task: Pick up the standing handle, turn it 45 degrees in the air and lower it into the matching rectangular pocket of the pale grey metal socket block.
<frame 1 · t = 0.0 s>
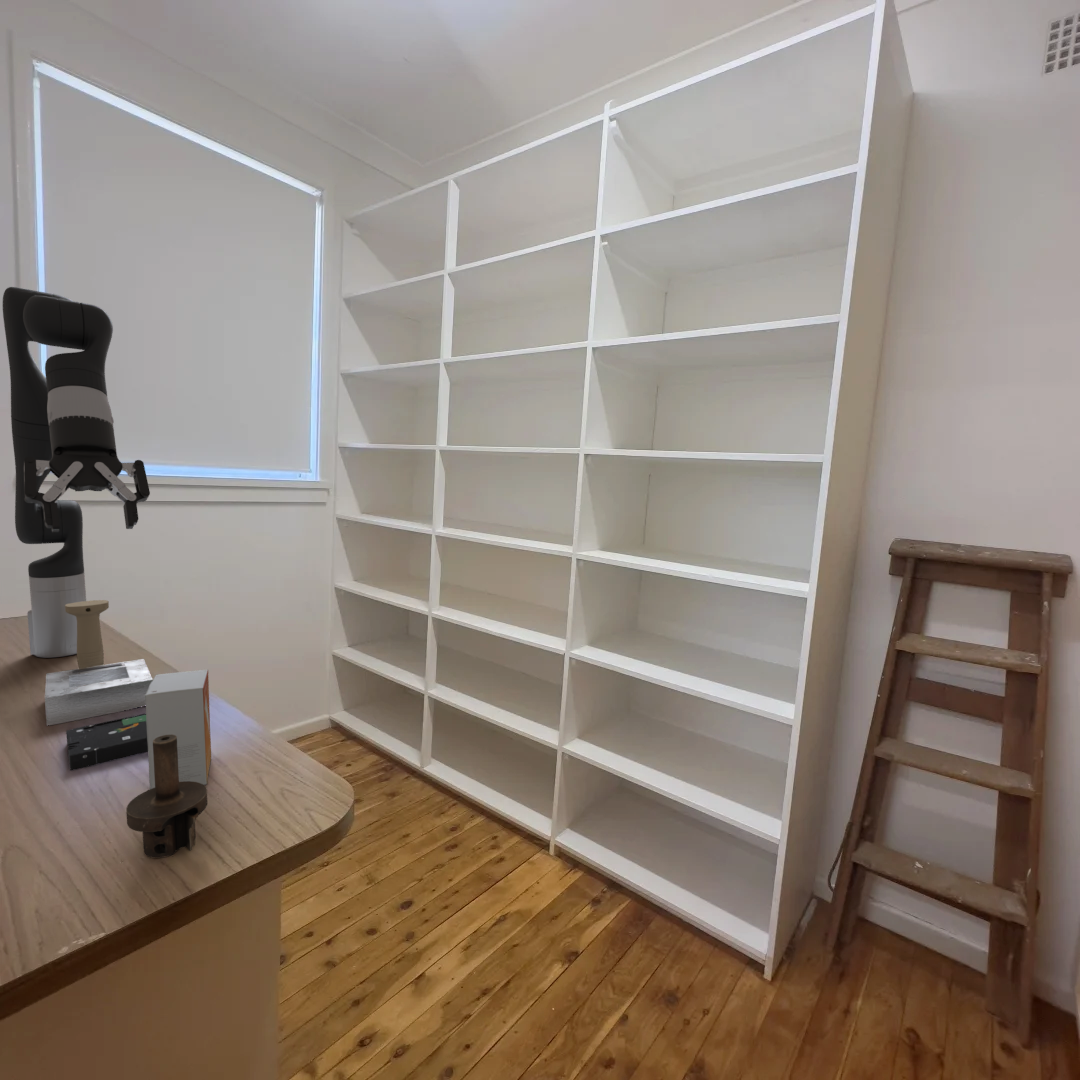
hand: (94, 529, 83), 31 cm above the table, tool tilted 20°, fingers open, 8 cm apart
handle: (92, 681, 109), on the table
disk drive: (132, 746, 85), on the table
industrial component: (167, 843, 62), on the table
small box: (183, 777, 76), on the table
socket block: (100, 701, 99), on the table
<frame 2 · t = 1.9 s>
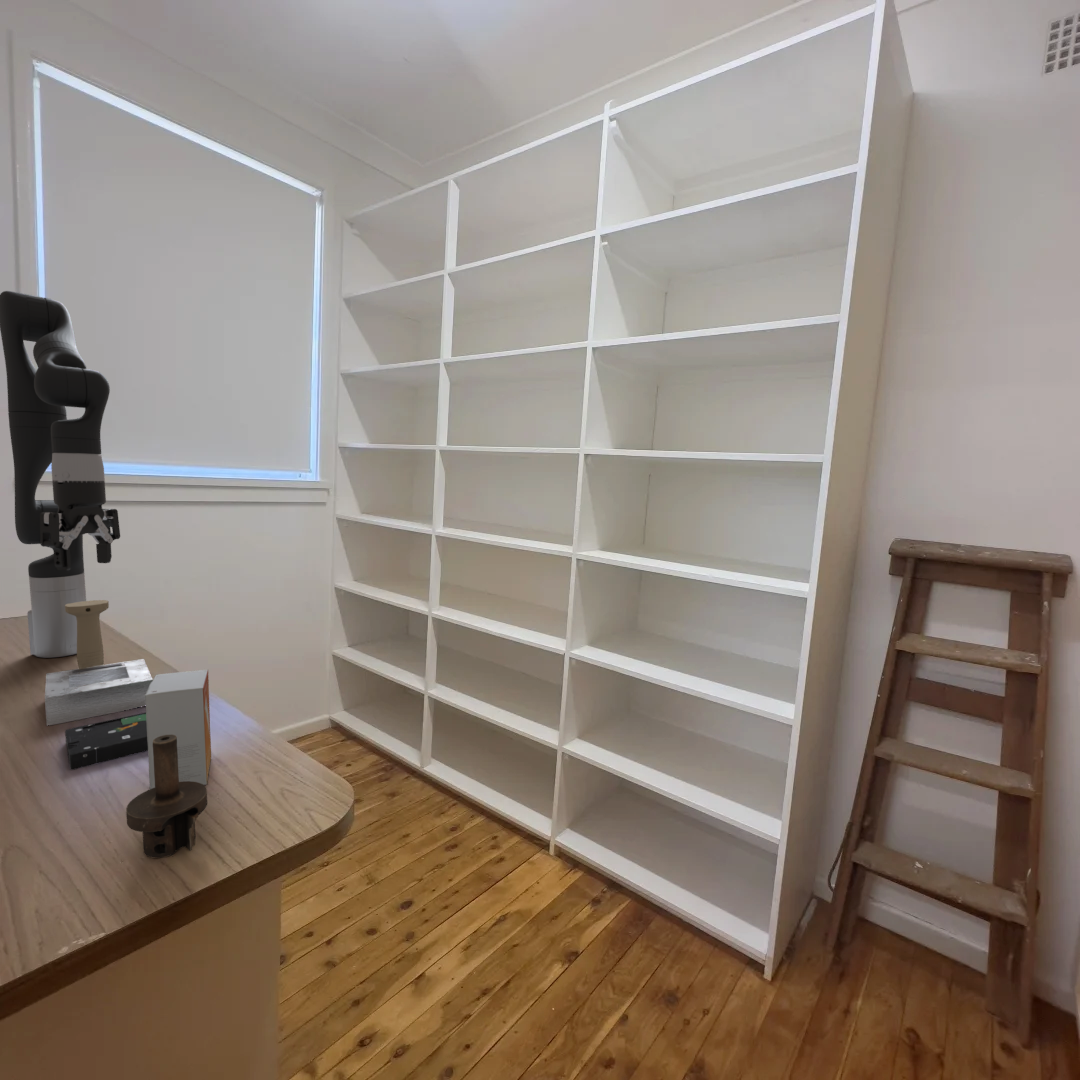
hand: (84, 566, 107), 22 cm above the table, tool pointing down, fingers open, 8 cm apart
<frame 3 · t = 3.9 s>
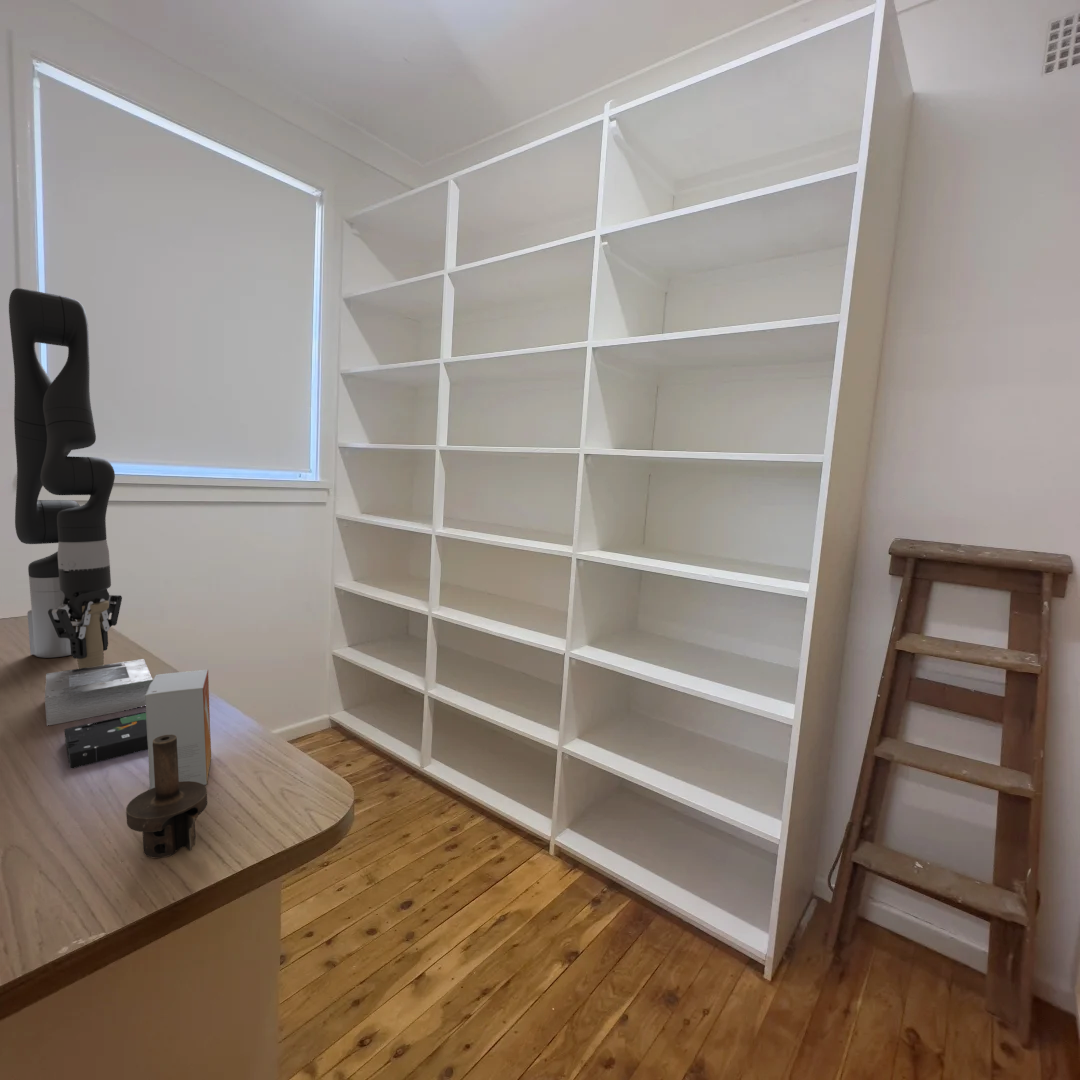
hand: (90, 653, 109), 5 cm above the table, tool pointing down, fingers closed on handle, 4 cm apart
handle: (92, 681, 109), on the table, touching gripper
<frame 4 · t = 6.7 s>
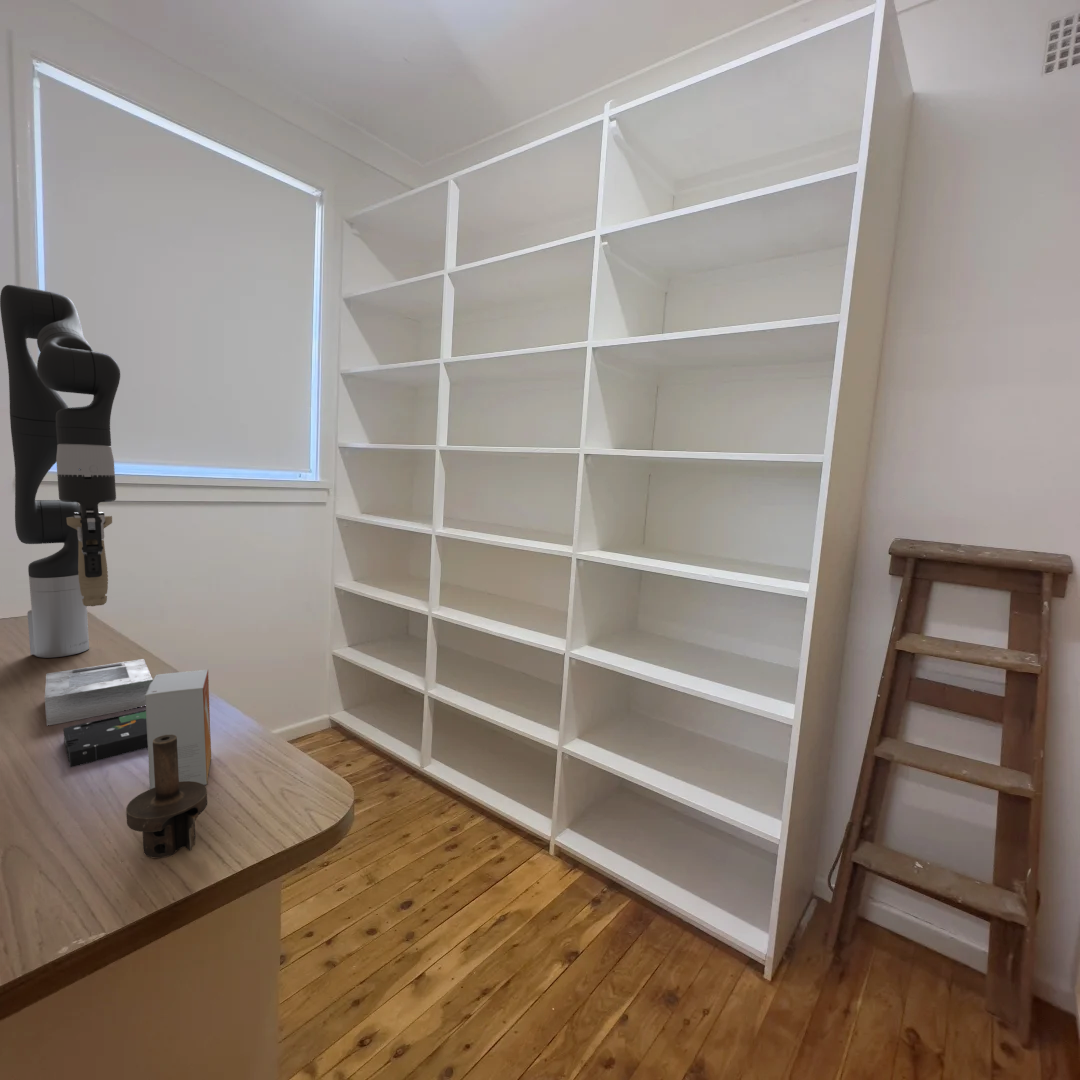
hand: (93, 574, 97), 22 cm above the table, tool pointing down, fingers closed on handle, 4 cm apart
handle: (95, 606, 98), point 17 cm above the table, touching gripper
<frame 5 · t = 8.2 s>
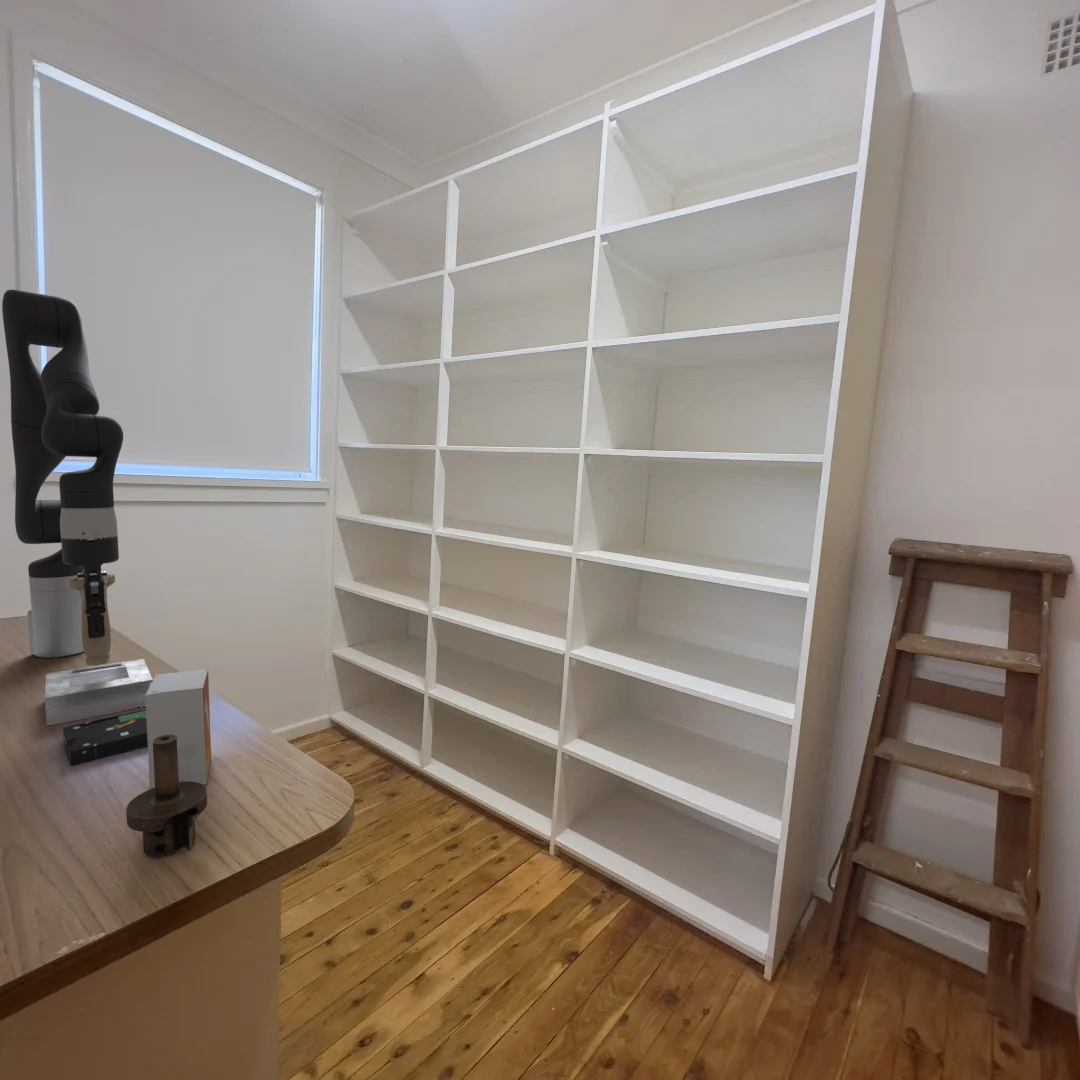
hand: (96, 633, 98), 12 cm above the table, tool pointing down, fingers closed on handle, 4 cm apart
handle: (98, 664, 99), point 7 cm above the table, touching gripper
when the fingers open (7 cm above the table, at t = 9.5 s): handle stays where it is, resting on socket block.
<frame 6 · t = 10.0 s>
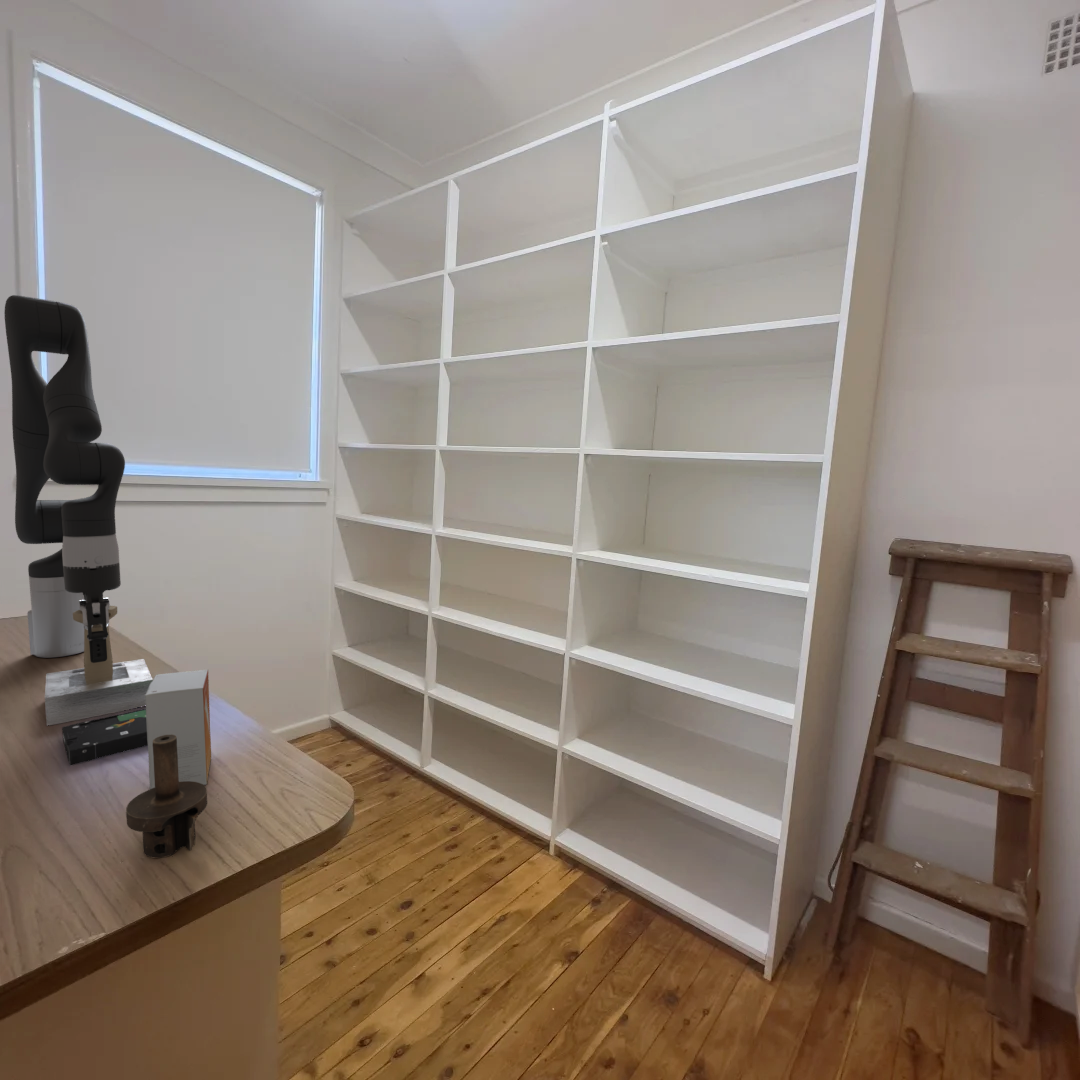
hand: (97, 655, 98), 8 cm above the table, tool pointing down, fingers open, 8 cm apart
handle: (100, 695, 99), point 1 cm above the table, touching socket block
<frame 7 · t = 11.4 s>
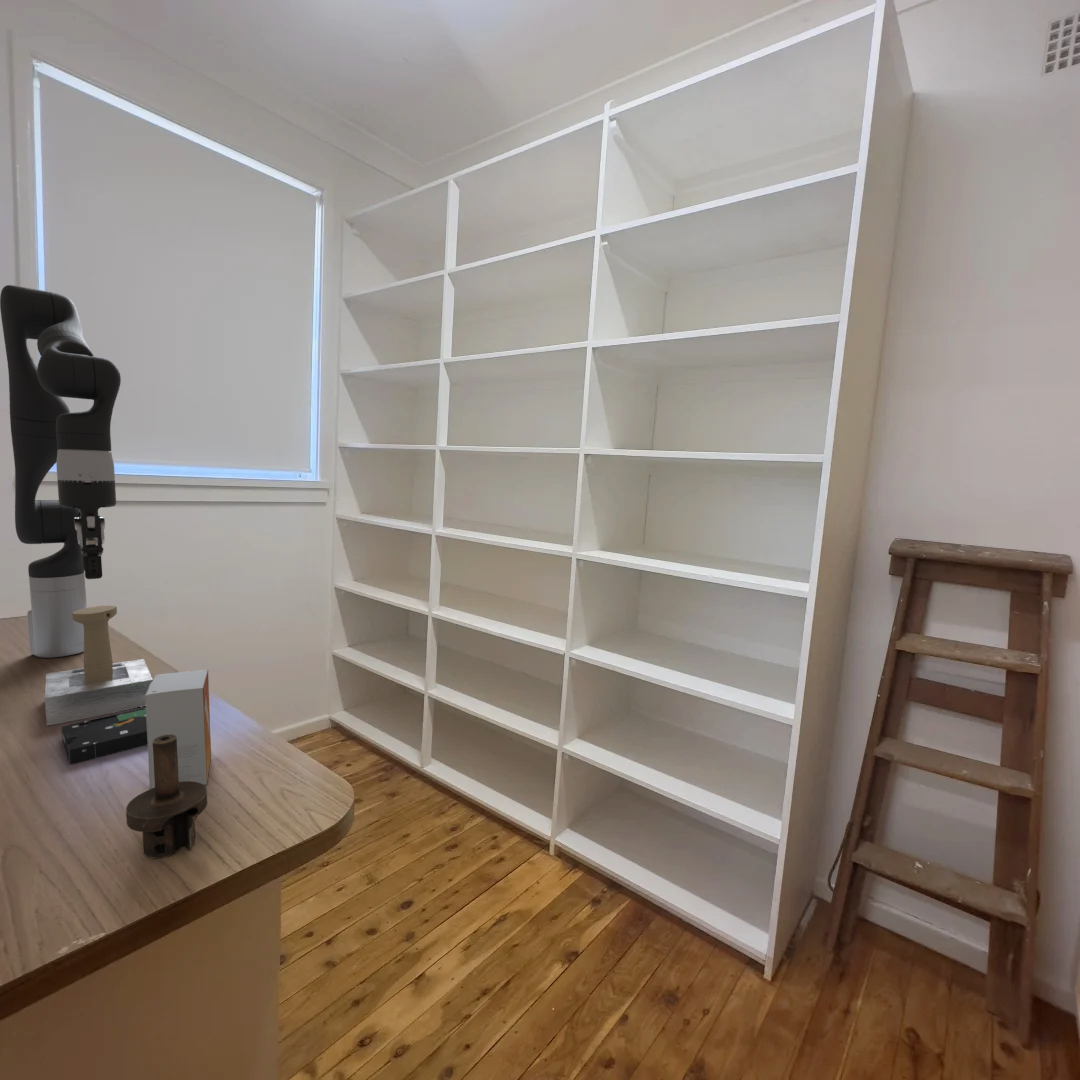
hand: (92, 574, 97), 22 cm above the table, tool pointing down, fingers open, 8 cm apart
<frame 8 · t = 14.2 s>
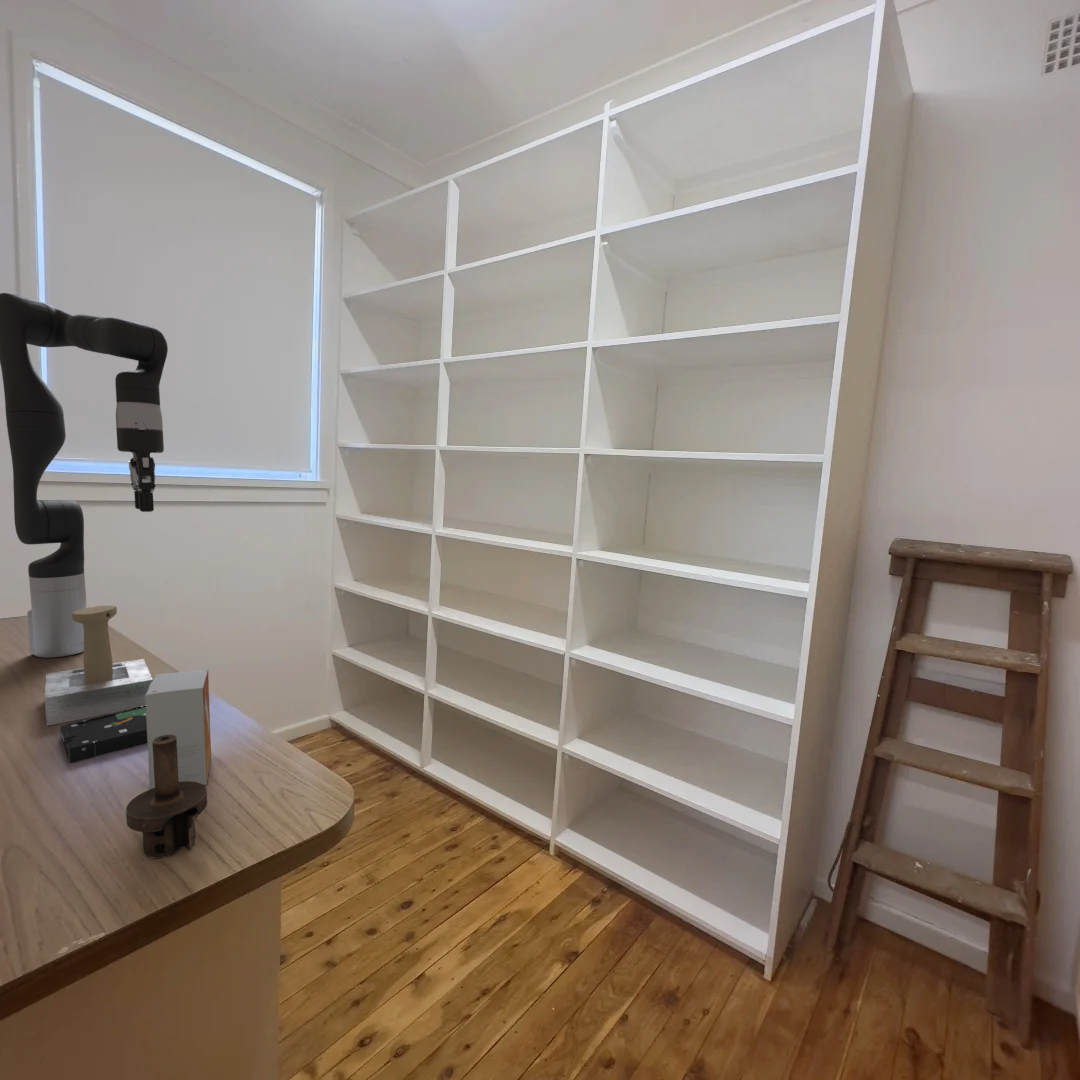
hand: (144, 510, 114), 32 cm above the table, tool pointing down, fingers open, 8 cm apart
at the end: handle 0.1 cm off-centre on the socket block, point 1.0 cm above the socket block's base; handle tilted 0°; the gripper is holding nothing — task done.
